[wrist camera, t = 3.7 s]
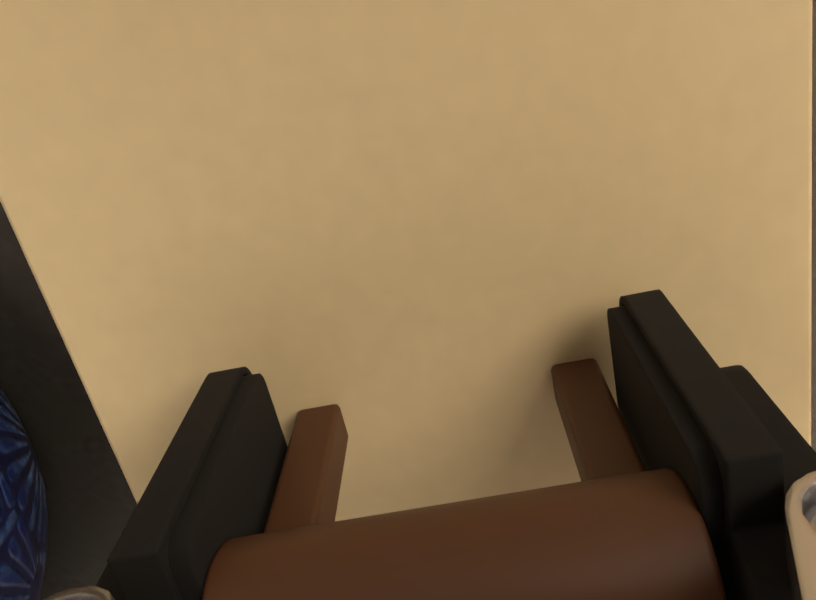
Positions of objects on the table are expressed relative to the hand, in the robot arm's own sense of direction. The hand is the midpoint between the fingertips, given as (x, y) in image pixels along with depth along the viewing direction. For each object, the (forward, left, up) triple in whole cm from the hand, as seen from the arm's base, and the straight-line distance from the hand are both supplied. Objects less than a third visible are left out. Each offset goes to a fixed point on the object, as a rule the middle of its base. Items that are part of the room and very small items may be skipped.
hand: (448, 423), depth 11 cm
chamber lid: (0, -4, -1) cm, 5 cm away
